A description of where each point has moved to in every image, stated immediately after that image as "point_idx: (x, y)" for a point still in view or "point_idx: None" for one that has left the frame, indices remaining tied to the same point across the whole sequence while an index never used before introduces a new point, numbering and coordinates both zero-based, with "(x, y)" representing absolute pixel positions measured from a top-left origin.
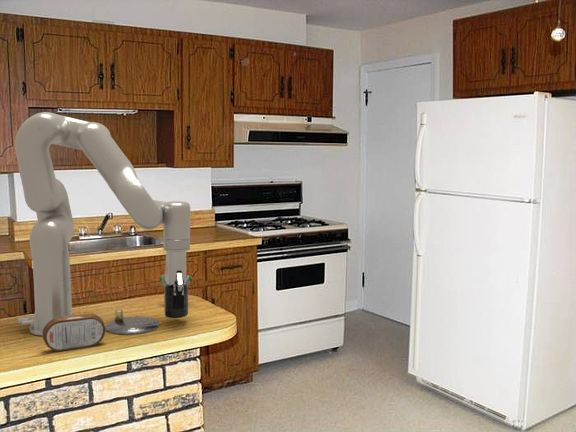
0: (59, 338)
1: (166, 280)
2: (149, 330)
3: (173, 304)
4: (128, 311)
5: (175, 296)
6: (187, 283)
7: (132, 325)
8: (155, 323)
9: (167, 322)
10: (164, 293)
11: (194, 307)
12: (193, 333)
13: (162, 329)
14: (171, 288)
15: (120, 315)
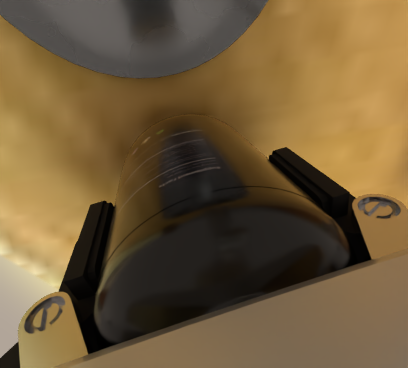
0: None
1: (267, 331)
2: (19, 28)
3: (87, 226)
4: None
5: (79, 289)
6: None
7: None
8: (144, 54)
9: (199, 113)
10: (184, 175)
11: (386, 193)
12: (38, 246)
13: (78, 104)
14: (99, 323)
15: None
